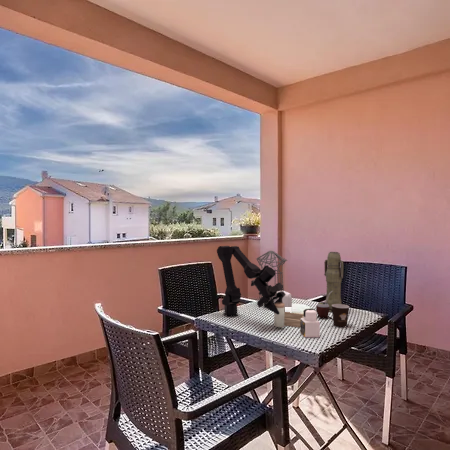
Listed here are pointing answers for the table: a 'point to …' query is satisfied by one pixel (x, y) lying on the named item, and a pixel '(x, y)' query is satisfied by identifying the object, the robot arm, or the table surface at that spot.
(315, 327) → the medicine bottle
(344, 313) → the coffee mug
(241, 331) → the table surface
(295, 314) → the open box
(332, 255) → the stone statue
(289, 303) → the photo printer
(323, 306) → the mate gourd
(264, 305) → the geometric lantern
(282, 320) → the ceramic jar
